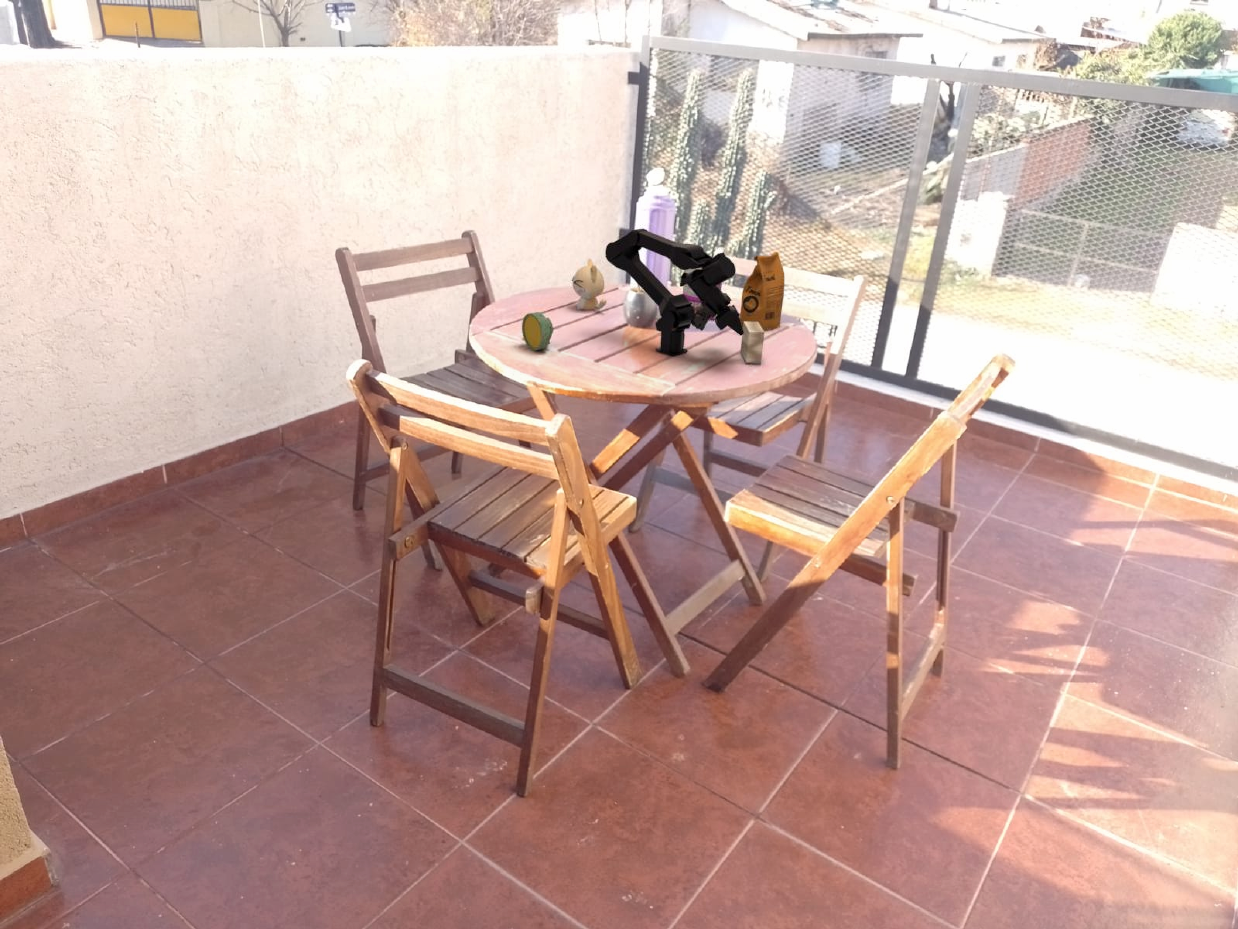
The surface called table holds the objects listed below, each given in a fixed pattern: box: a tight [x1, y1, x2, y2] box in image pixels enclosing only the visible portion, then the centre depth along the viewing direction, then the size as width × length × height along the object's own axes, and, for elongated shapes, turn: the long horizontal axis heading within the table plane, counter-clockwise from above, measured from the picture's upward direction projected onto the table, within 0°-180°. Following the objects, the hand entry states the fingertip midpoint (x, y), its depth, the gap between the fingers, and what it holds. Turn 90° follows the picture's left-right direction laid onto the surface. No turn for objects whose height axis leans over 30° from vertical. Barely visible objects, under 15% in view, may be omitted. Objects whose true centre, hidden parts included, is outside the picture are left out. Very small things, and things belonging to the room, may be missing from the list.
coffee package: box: [739, 251, 785, 332], centre depth 269 cm, size 10×12×22 cm
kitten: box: [571, 258, 608, 311], centre depth 281 cm, size 15×10×15 cm
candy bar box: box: [682, 267, 723, 321], centre depth 278 cm, size 11×5×16 cm, turn 62°
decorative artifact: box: [521, 311, 555, 351], centre depth 244 cm, size 10×7×10 cm
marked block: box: [740, 321, 765, 366], centre depth 243 cm, size 4×10×9 cm, turn 1°
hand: (742, 334), depth 240 cm, fingers closed
